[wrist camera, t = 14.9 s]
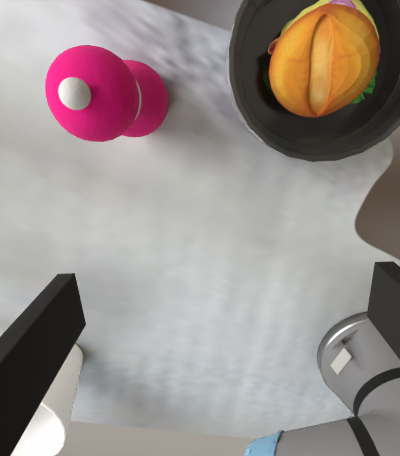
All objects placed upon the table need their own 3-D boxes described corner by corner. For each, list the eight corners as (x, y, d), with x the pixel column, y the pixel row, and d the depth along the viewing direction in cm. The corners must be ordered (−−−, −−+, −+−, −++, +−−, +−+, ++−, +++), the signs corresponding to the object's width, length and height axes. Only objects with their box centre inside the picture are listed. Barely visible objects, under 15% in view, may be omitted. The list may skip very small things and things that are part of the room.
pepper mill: (181, 122, 37) (153, 135, 18) (124, 142, 38) (43, 175, 19) (158, 55, 35) (99, -7, 16) (99, 79, 36) (-23, 47, 17)
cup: (59, 394, 53) (16, 475, 41) (7, 345, 49) (-55, 418, 38) (114, 364, 50) (86, 441, 39) (64, 311, 47) (16, 377, 35)
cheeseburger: (391, 64, 34) (429, 72, 25) (301, 127, 39) (307, 151, 30) (342, -26, 31) (367, -52, 22) (252, 54, 36) (244, 58, 27)
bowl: (386, 148, 37) (420, 156, 31) (227, 156, 38) (231, 166, 32) (414, -48, 31) (464, -86, 25) (222, -32, 32) (225, -65, 26)
